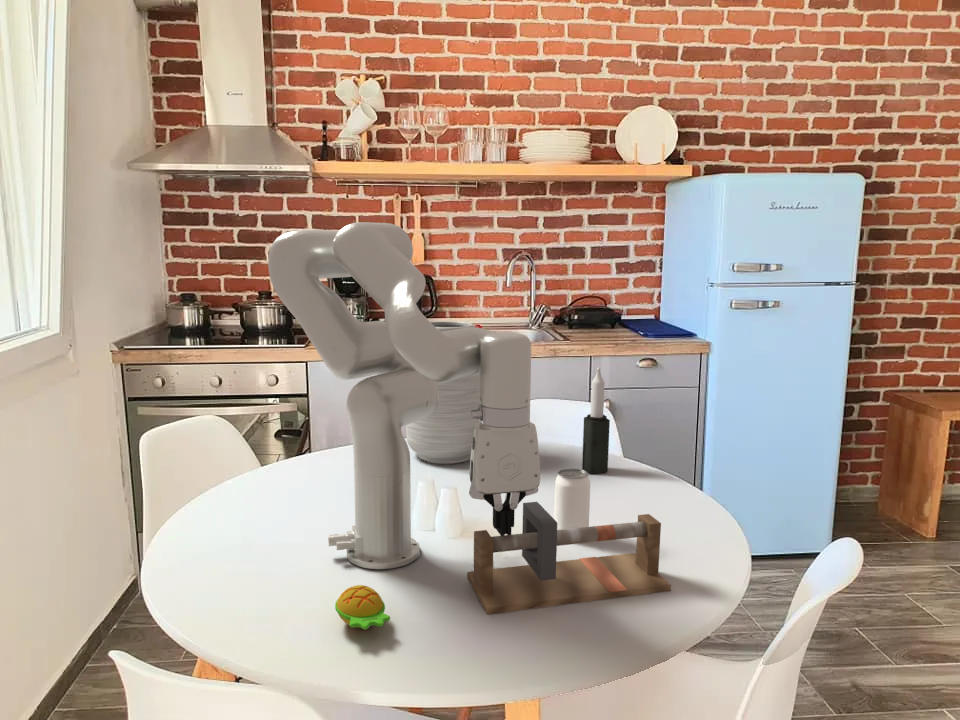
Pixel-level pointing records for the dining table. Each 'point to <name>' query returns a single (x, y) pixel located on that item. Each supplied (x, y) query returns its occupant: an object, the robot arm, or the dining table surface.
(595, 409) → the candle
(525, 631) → the dining table surface
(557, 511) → the can
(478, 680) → the dining table surface
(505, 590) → the rail
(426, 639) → the dining table surface
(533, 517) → the collar
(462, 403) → the vase
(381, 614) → the toy pineapple
